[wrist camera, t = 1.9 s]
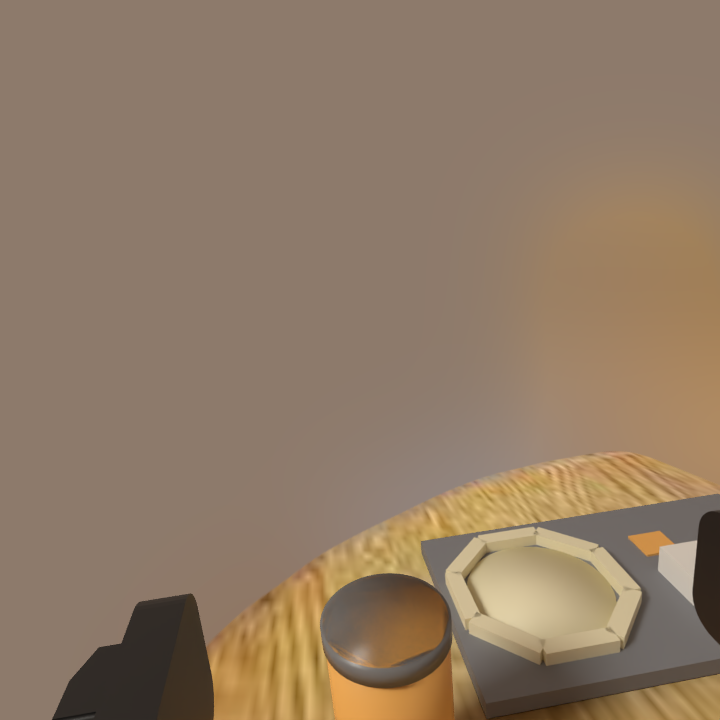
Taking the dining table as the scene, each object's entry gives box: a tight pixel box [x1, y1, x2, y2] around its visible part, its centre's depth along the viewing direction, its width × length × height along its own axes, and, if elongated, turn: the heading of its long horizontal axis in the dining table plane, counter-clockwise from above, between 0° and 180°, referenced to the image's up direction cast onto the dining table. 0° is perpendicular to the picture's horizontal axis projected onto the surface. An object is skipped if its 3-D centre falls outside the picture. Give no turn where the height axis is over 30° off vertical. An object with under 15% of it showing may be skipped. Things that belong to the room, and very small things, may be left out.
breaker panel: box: [421, 494, 720, 719], centre depth 36 cm, size 24×14×4 cm, turn 98°
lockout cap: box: [320, 573, 454, 720], centre depth 23 cm, size 6×6×10 cm
